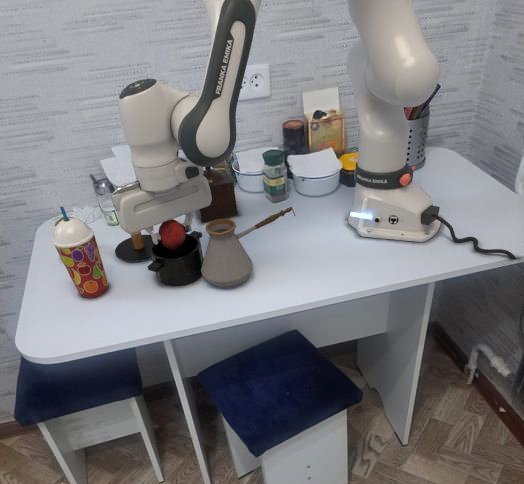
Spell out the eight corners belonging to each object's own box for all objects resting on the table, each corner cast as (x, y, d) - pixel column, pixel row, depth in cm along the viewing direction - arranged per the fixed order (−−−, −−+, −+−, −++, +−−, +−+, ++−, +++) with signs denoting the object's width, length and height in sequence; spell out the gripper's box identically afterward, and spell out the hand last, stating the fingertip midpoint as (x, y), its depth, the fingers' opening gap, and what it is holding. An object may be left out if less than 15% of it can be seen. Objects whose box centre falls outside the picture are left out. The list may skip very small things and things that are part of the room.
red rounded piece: (183, 257, 102) (176, 223, 96) (158, 256, 103) (149, 222, 97) (191, 243, 106) (185, 210, 100) (167, 242, 107) (159, 209, 102)
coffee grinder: (229, 199, 135) (220, 134, 123) (238, 215, 127) (230, 147, 115) (176, 210, 133) (161, 145, 121) (182, 227, 125) (167, 159, 113)
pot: (221, 259, 111) (216, 233, 106) (178, 298, 101) (171, 270, 96) (184, 250, 116) (178, 224, 111) (139, 286, 106) (130, 259, 101)
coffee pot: (203, 296, 101) (190, 233, 91) (202, 267, 109) (191, 207, 99) (301, 283, 101) (299, 219, 91) (293, 256, 110) (291, 194, 100)
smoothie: (91, 277, 110) (59, 196, 97) (120, 283, 107) (91, 200, 94) (68, 298, 104) (30, 214, 91) (98, 304, 102) (64, 219, 88)
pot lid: (174, 243, 119) (170, 225, 115) (142, 268, 111) (137, 249, 108) (138, 234, 124) (133, 216, 120) (105, 257, 116) (99, 239, 113)
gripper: (114, 195, 87) (134, 259, 96) (209, 164, 95) (219, 226, 104) (102, 185, 91) (122, 248, 100) (195, 156, 99) (205, 216, 108)
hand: (172, 236), depth 102 cm, fingers closed on red rounded piece, 6 cm apart
